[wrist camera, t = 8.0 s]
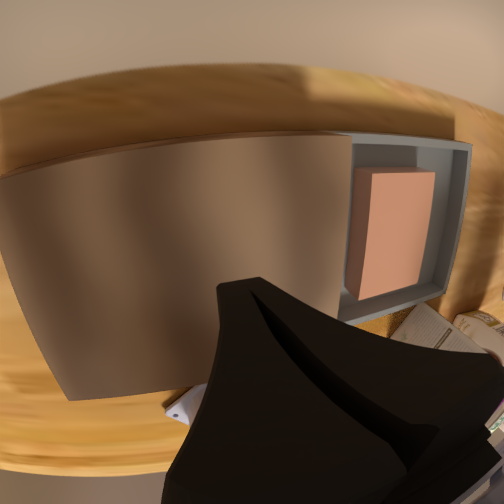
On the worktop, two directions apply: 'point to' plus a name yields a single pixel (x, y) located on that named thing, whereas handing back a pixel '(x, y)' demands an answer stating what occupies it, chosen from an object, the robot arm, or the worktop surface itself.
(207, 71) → the worktop surface
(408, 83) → the worktop surface
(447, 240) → the tray
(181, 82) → the worktop surface
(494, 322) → the juice carton
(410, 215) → the tile
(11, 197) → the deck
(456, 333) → the syrup box
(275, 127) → the worktop surface
